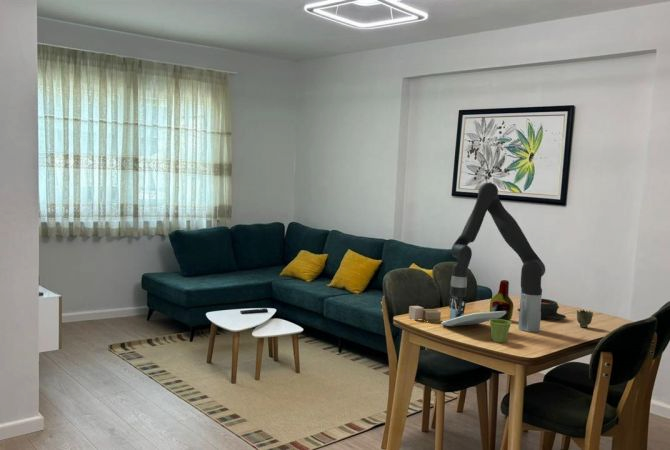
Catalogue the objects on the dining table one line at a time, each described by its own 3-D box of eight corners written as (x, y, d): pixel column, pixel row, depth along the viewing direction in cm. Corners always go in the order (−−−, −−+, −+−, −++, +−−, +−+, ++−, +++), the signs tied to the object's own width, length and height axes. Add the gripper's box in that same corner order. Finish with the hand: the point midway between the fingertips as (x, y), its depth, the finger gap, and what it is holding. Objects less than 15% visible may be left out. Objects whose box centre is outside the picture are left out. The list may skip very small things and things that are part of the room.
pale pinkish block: (423, 320, 295) (423, 307, 294) (414, 320, 292) (415, 308, 292) (417, 317, 299) (417, 305, 298) (408, 318, 297) (409, 306, 296)
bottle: (514, 320, 303) (517, 281, 302) (508, 322, 299) (511, 282, 297) (493, 316, 312) (496, 277, 310) (486, 317, 307) (489, 278, 305)
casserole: (572, 319, 314) (573, 303, 314) (555, 324, 301) (557, 307, 301) (527, 310, 332) (528, 294, 331) (510, 314, 319) (511, 298, 318)
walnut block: (440, 322, 292) (440, 312, 291) (426, 322, 290) (427, 312, 290) (434, 319, 299) (435, 309, 298) (421, 319, 297) (422, 309, 297)
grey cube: (463, 323, 293) (464, 310, 292) (453, 323, 292) (454, 310, 291) (459, 320, 298) (459, 308, 297) (449, 320, 297) (450, 308, 296)
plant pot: (484, 341, 261) (486, 321, 261) (491, 336, 269) (493, 317, 269) (506, 345, 256) (507, 325, 256) (512, 341, 264) (514, 321, 263)
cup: (583, 325, 302) (585, 309, 301) (595, 329, 295) (596, 312, 295) (572, 325, 299) (573, 309, 299) (583, 329, 292) (584, 313, 292)
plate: (436, 328, 284) (436, 323, 285) (477, 324, 296) (476, 320, 297) (470, 318, 264) (469, 313, 264) (513, 315, 275) (511, 310, 276)
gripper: (472, 288, 287) (469, 323, 288) (459, 282, 301) (457, 316, 302) (457, 288, 285) (454, 323, 287) (445, 282, 299) (442, 316, 301)
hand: (455, 319), depth 294 cm, fingers open, 5 cm apart
